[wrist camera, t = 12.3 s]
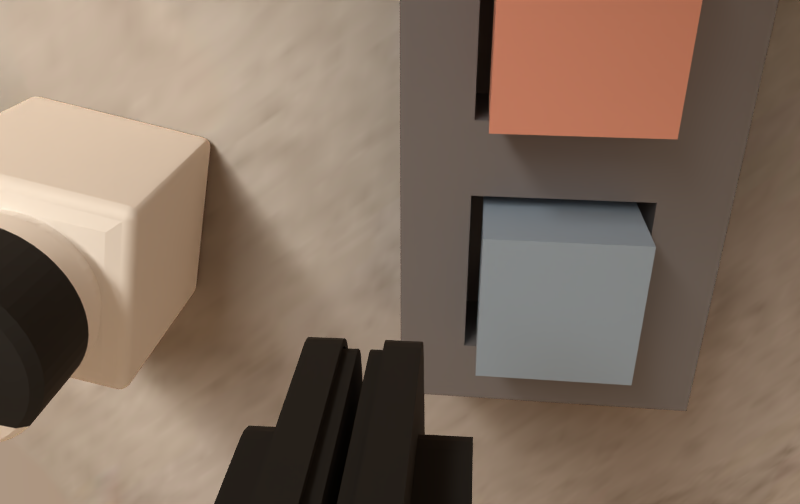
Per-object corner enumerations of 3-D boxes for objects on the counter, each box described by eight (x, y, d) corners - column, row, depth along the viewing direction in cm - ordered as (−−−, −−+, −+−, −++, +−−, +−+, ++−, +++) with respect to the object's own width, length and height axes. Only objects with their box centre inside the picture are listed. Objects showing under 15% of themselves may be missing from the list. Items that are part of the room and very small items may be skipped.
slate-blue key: (483, 192, 24) (482, 239, 21) (633, 197, 23) (656, 246, 20) (477, 316, 26) (475, 375, 23) (614, 323, 26) (631, 385, 23)
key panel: (419, -534, 19) (398, -658, 14) (825, -557, 18) (935, -697, 14) (413, 318, 31) (401, 392, 26) (657, 331, 30) (686, 411, 25)
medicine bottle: (33, 91, 28) (-244, 225, 17) (214, 136, 28) (48, 296, 18) (36, 251, 31) (-194, 443, 21) (198, 291, 31) (50, 504, 21)
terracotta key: (498, -75, 20) (499, -66, 17) (678, -75, 20) (714, -65, 17) (488, 97, 22) (489, 133, 19) (650, 101, 22) (677, 139, 19)
